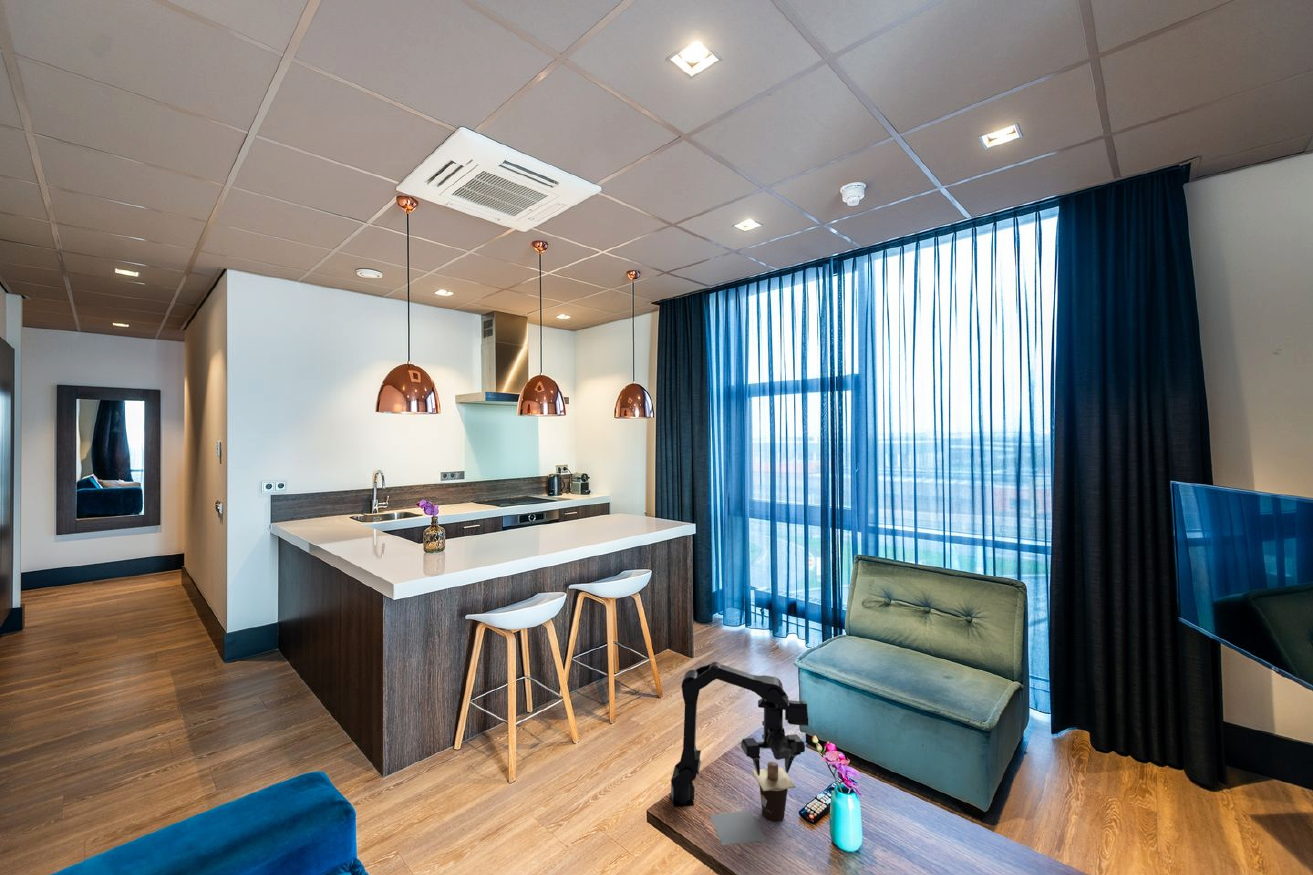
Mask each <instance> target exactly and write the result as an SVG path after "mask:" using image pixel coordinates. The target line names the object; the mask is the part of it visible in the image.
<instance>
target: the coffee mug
mask: <svg viewBox="0 0 1313 875" xmlns="http://www.w3.org/2000/svg"><path fill="white" fill-rule="evenodd" d="M757 783H758V782H757ZM758 787H759V791H760V792H759V794H760V801H761V802H760V803H761V812H762V816H763V818H764V819H766V820H767V821H769V822H772V823H779V822H782V821H784V819H785V812H786V805H787V798H788V789H779V790H768V791H763V790H762V788H761V786H760V785H759V783H758Z"/></svg>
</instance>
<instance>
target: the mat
mask: <svg viewBox="0 0 1313 875" xmlns="http://www.w3.org/2000/svg"><path fill="white" fill-rule="evenodd" d="M709 818H710V820H711V822H712V824H713V827H714V829H715V832H716V834H717V837H718V839H719V841H720V843H721V845H722V847H723V846H730V845H731V846H733V845H741V844H747V843H756V842H757V843H758V842H763V841H767V838H766V836H765V835H764V833H763V831H762V829H761V827H760V825H759V824H758V821H757V820H756V818H755V816H754V815H753V813H752V811H751V810H744V811H735V812H725V813H717V814H709Z"/></svg>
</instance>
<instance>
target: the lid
mask: <svg viewBox="0 0 1313 875" xmlns="http://www.w3.org/2000/svg"><path fill="white" fill-rule="evenodd" d="M750 772H751V773H752V775H753V776H754V778H755V780H756V781H757V783H759V784H758V786H759V785H760V786H761V788H762V790H763V791H768V790H779V789H796V785H795V784H794V783H793V781H792V780H791V778H790V777H789V776H788V773H786V771H785V769H783V767H781V766H780V767H779V764H778V763H777V762H776V761H768V762H767V768H760V775H759V776H758V774H757V772H756V769H751V770H750ZM760 786H759V787H760Z"/></svg>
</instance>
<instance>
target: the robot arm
mask: <svg viewBox="0 0 1313 875" xmlns="http://www.w3.org/2000/svg"><path fill="white" fill-rule="evenodd" d="M716 680H718V681H722V682H724V683H727V684H731V685H733V686H736V687H739V688H742V689H746V690H748V691H751V692H753V693H755V694H756V695H757V696H759V697H760V699H759V700H758V701H757V707H758V708H762V709H763V720H762V721H761V722H762V724H761V725H762V726H763V734H761V738H762V740H763V741H759V742H758V741H757V740H756V739H755V738H754V737H749V738H742V740H741V741H740V748H741V749H742V751H743V753H744V754H745V755H746V757H747V758H750V759H751V760H752V761H753V766H754V768H755V769H754V770H756V772H757V774H758V776H759V775H760V769H761V765H760V759H761V756H760V754H761V751H762V750H771V752H772V754H773V758H774V760H777V761H778V760H780V761H781V760H784V771H785V773H786V774H789V772H790V768H791V766H792V764H793V762H794V759H795V757H797V756H799V755H801V753H805V752H806V743H805V741H803V740H802V739H801V737H800V736H799V734H787V735H786V732H785V731H786V730H785V728H784V724H783V723H784V719H785V721H787V724H788V725H794V726H802V727H803V726H805V727H808V726H809V714H808V713H809V712H808V711H809V710H808V702H807V701H806V700H791V699H789V696H788V694H787V693H786V692H785V690H784V687H783V683H782V681H781V679H779V678H778V677H776V676H770V675H755V674H752V673H748V672H746V671H742V670H739V669H737V668H734V667H730V666H727V665H724V664H722V663H720V662H718V661H712V662H711V663H709V664H706V665H702V666H699V667H697V668H696V669H689V670H687V671H685V673H684V676H683V679H682V682H681V693H682V698H683V703H684V718H683V720H684V721H683V741H682V742H683V745H682V752H681V756H680V761H678V762H677V763H676V764H675V765H674V767H673V768H674V769H673V773H672V776H671V779H670V782H671V784H670V785H671V786H670V787H671V788H670V793H669V797H670V800H671V804H672V806H673V808H683V807H692V806H695V802H694V800H695V785H694V782H693V781H695V780H696V778H697V774H698V775H699V773H700V768H701V763H702V762H701V754H702V750H700V749H699V750H698V749H697V745H696V742H697V741H696V739H697V738H696V737H697V715H698V714H697V709H698V700H699V695H700V690H702V689H704V688H705V687H707V685H709V684H710V683H712V682H713V681H716ZM670 794H671V795H670Z"/></svg>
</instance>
